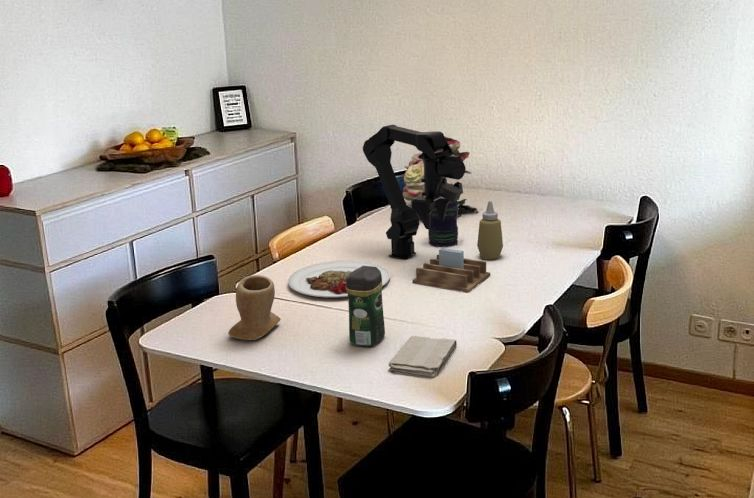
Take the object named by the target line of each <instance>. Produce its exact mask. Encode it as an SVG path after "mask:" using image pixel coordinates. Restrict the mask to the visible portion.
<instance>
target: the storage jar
mask: <svg viewBox="0 0 754 498" xmlns="http://www.w3.org/2000/svg"><path fill="white" fill-rule="evenodd" d="M457 201H458V200H457ZM457 201H455V202H449V204H448V206H447V210H446V213H445V217H444V220H443V221H440V220H439V217H438V213H437V210H436V206H434V208H435V209H434V210H433V211H432V212H431V220H430V228H429V229H427V231H428V232H427V233H428V245H430V246H431V247H435V248H450V247H451V248H452V247H454V246H457V245H458V243H459V240H458V237H459V226H458V217H457V215H458V214H459V209H458V206H457Z"/></svg>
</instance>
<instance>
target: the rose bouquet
mask: <svg viewBox="0 0 754 498" xmlns="http://www.w3.org/2000/svg"><path fill="white" fill-rule="evenodd" d="M444 137H445V138H446V140H447V142H448V144H449V146H450V148H451V150H452V152H453V156H460V160H461V161H463V162H465V160H466V159H468V158H470V152H469V151H462V152H460V150H459V149H460V148H461V141H459V140H457V139H454V138H451V137H447V136H446V135H444ZM442 151H443V150H442ZM438 152H441V151H438ZM434 153H437V152H434ZM421 154H422V152H418V153H415V154H413V155H412V156H411V159H410V160H409V162H408V164H407V165H405V166H404V168H405V169H406V171H405V173H404V174H403V182H404V184H405V186H404V187H403V190H402V191H403V192H402V194H403V197H404V199H405V201H407V202H411V201H412V200H413V199H415V198H417V197H419V196H420V197H426V196H422V192H424V183H423V182H421V179H423V178H424V160H423V159H419V158H418V156H419V155H421ZM465 174H467V175H468V174H469V175H470V174H472V171H469V170H466V169H465ZM466 201H467V198H462V199H461V200H457V206H458V210H459V209H462V210H465V211H473V213H474V214H476V213H478V212H479V211H478V208H477V207H474V206H471V205H467V204H466ZM465 204H466V205H465ZM409 207H410V208H411V204H410V205H409ZM416 213H417V212H416ZM417 215H418V214H417ZM462 215H463V214H462V213H461V214H460V213H458V215H457V218H459V217H462ZM418 217H419V215H418ZM418 220H419V222H420V221H421V219H420V217H419V219H418ZM421 222H422V221H421Z"/></svg>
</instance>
